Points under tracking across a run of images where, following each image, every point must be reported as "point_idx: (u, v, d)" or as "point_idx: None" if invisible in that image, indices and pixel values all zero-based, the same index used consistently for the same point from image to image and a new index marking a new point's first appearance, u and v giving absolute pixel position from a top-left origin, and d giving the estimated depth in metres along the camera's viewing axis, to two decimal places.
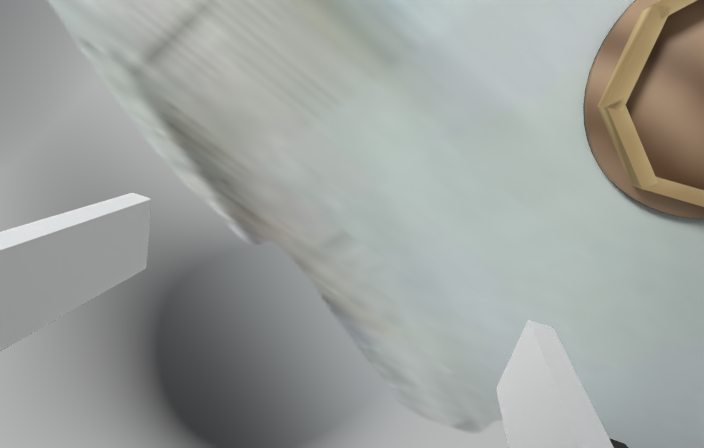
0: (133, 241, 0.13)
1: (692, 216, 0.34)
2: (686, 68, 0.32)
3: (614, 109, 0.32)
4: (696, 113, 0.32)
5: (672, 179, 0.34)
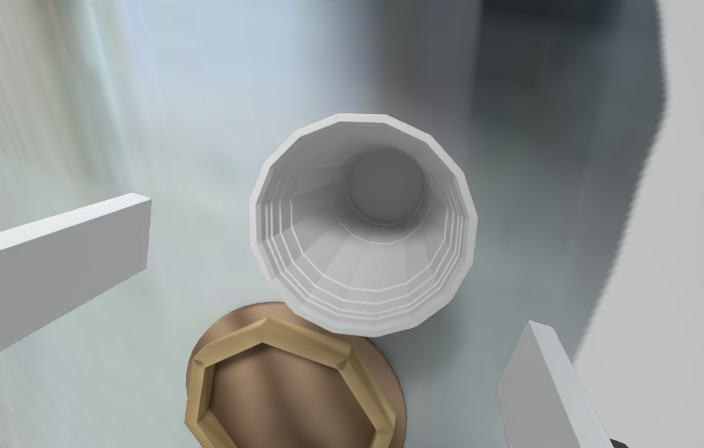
0: (133, 241, 0.13)
1: None
2: (271, 373, 0.36)
3: (196, 364, 0.35)
4: (260, 402, 0.37)
5: (222, 425, 0.39)
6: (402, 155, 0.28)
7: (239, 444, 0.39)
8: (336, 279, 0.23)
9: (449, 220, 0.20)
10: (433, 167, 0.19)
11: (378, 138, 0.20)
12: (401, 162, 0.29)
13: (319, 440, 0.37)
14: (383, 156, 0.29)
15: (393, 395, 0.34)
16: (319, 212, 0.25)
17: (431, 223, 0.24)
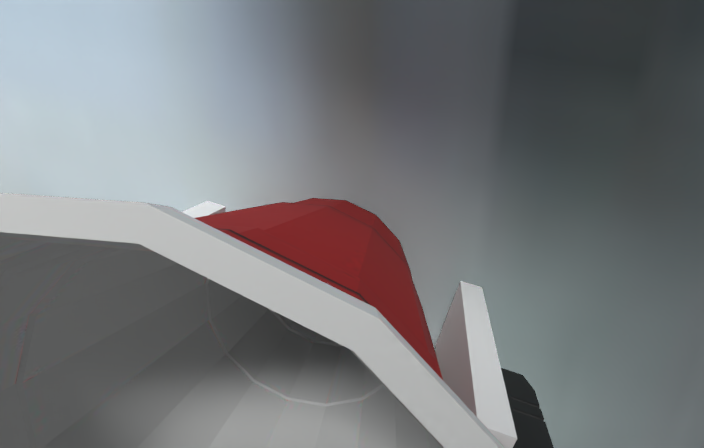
0: None
1: None
2: None
3: None
4: None
5: None
6: None
7: None
8: None
9: None
10: None
11: None
12: None
13: None
14: None
15: None
16: (168, 357, 0.11)
17: None
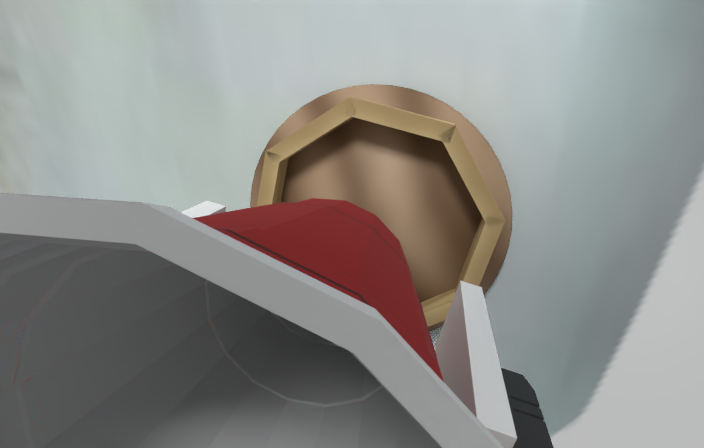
0: None
1: None
2: (353, 175, 0.31)
3: (269, 158, 0.30)
4: None
5: None
6: None
7: None
8: None
9: None
10: None
11: None
12: None
13: None
14: None
15: (500, 187, 0.29)
16: (168, 357, 0.11)
17: None
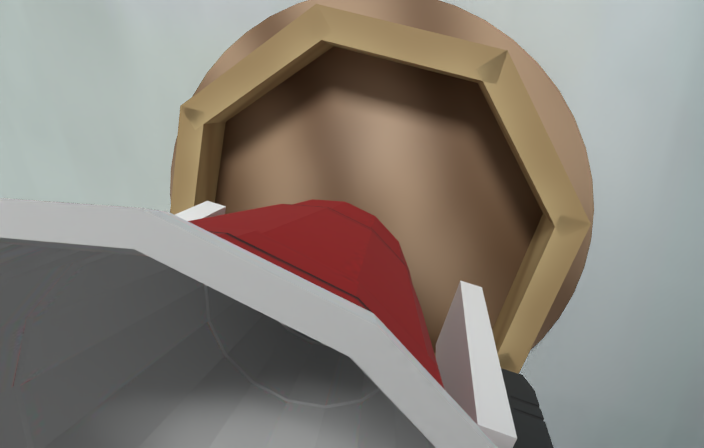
0: None
1: None
2: (328, 150, 0.19)
3: (187, 118, 0.18)
4: None
5: None
6: None
7: None
8: None
9: None
10: None
11: None
12: None
13: (413, 284, 0.20)
14: None
15: (575, 167, 0.17)
16: (167, 359, 0.11)
17: None
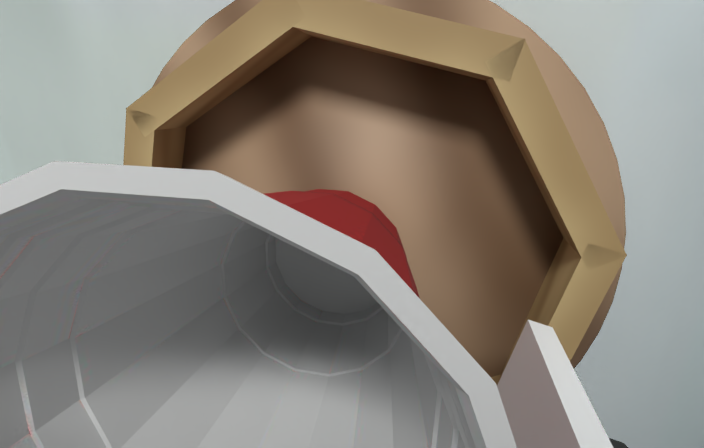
0: None
1: None
2: (307, 160, 0.16)
3: (135, 123, 0.15)
4: None
5: None
6: None
7: None
8: None
9: (444, 434, 0.08)
10: None
11: None
12: None
13: None
14: None
15: (603, 182, 0.14)
16: (189, 328, 0.13)
17: (407, 364, 0.12)
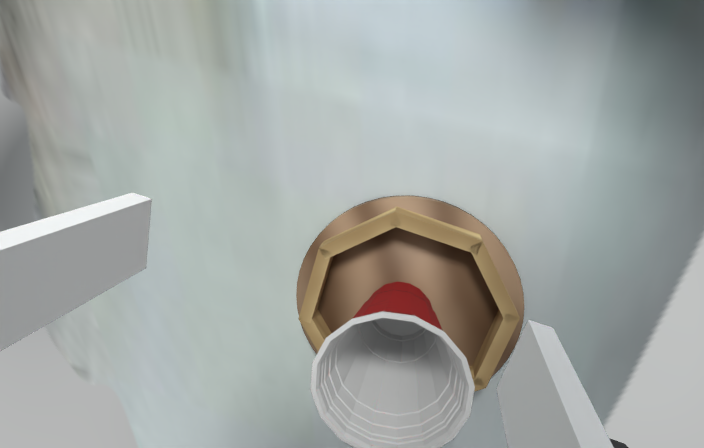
0: (133, 241, 0.13)
1: None
2: (390, 268, 0.36)
3: (321, 253, 0.35)
4: None
5: (329, 327, 0.39)
6: None
7: None
8: (366, 403, 0.30)
9: (453, 374, 0.28)
10: None
11: None
12: None
13: None
14: None
15: (515, 286, 0.35)
16: (352, 342, 0.33)
17: (437, 357, 0.32)
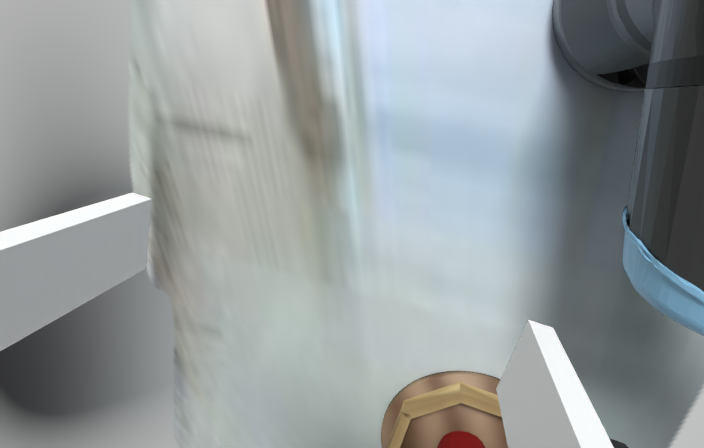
0: (133, 241, 0.13)
1: None
2: (454, 421, 0.49)
3: (404, 416, 0.48)
4: None
5: None
6: None
7: None
8: None
9: None
10: None
11: None
12: None
13: None
14: None
15: None
16: None
17: None
